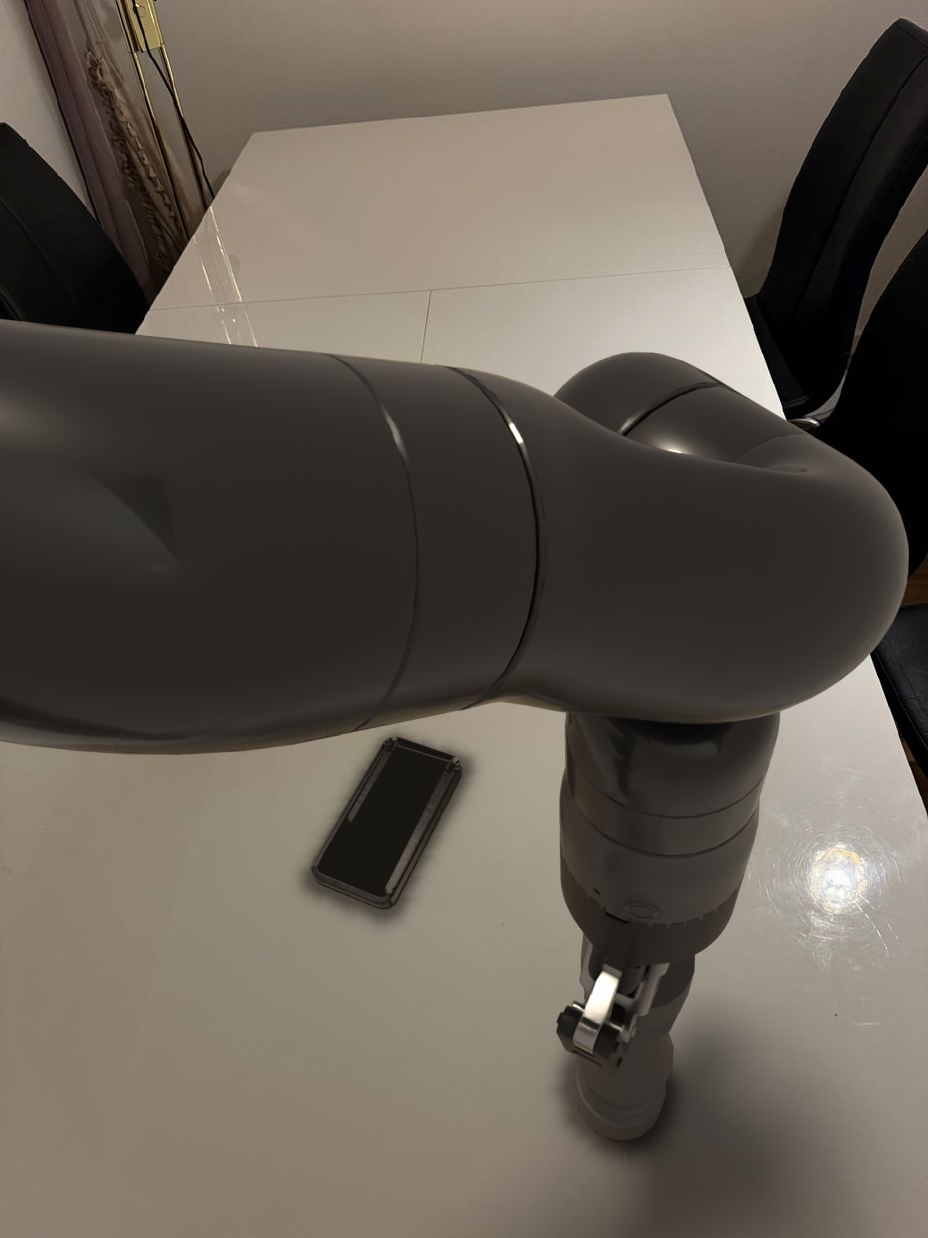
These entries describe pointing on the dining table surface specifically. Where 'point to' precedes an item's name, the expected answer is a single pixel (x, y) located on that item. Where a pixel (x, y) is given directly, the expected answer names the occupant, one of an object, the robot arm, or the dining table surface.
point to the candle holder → (635, 1064)
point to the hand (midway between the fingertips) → (632, 984)
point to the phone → (387, 822)
